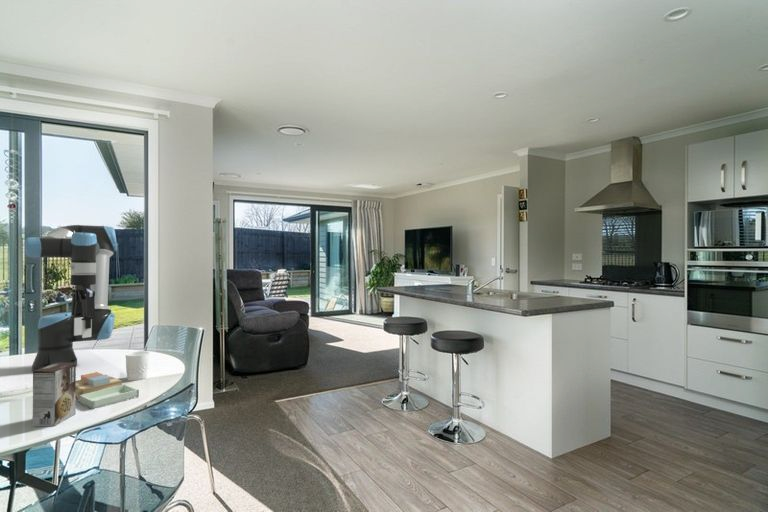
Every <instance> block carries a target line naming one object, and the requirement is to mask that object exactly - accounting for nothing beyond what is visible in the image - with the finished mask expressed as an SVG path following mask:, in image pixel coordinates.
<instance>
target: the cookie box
mask: <svg viewBox="0 0 768 512" xmlns="http://www.w3.org/2000/svg"><path fill="white" fill-rule="evenodd" d="M76 370H77V366H76V363H53V364H50V365H48V366H45V367H43V368H40V369H37V370H35V371H32V424H31V425H32V427H56V426H57V425H59V424H60V423H62V422H64V421H66V420H67V419H69V418H71V417H73V416H74V415H76V410H77V408H76V405H77V404H76V402H77V401H76V381H77V379H76V378H77V375H76Z"/></svg>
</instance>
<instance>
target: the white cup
mask: <svg viewBox="0 0 768 512" xmlns="http://www.w3.org/2000/svg"><path fill="white" fill-rule="evenodd" d="M149 354H150V353H149V351H148V350H147V351H145V350H137V351H131V352H127V353H126V354H125V370H126V371H125V372H126V380H127V381H129V382H130V381H132V382H134V381H135V380H136V381H142V380H145V379H146V378H147V377H148V369H149V368H148V367H149ZM136 381H135V382H136Z"/></svg>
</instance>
